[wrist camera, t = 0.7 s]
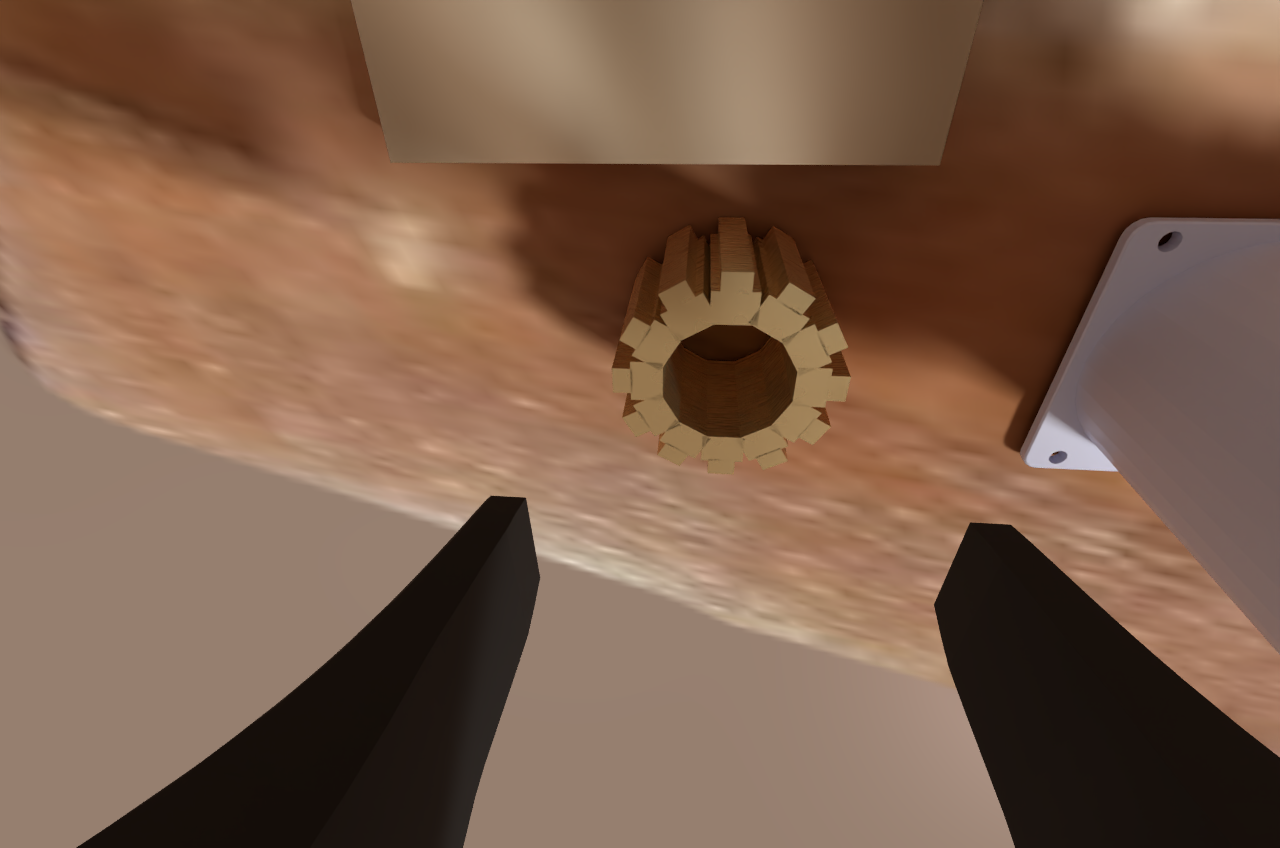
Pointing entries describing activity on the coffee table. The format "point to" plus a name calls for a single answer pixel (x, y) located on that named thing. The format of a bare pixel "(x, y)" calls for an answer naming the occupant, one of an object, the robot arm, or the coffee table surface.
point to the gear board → (667, 80)
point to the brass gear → (724, 390)
